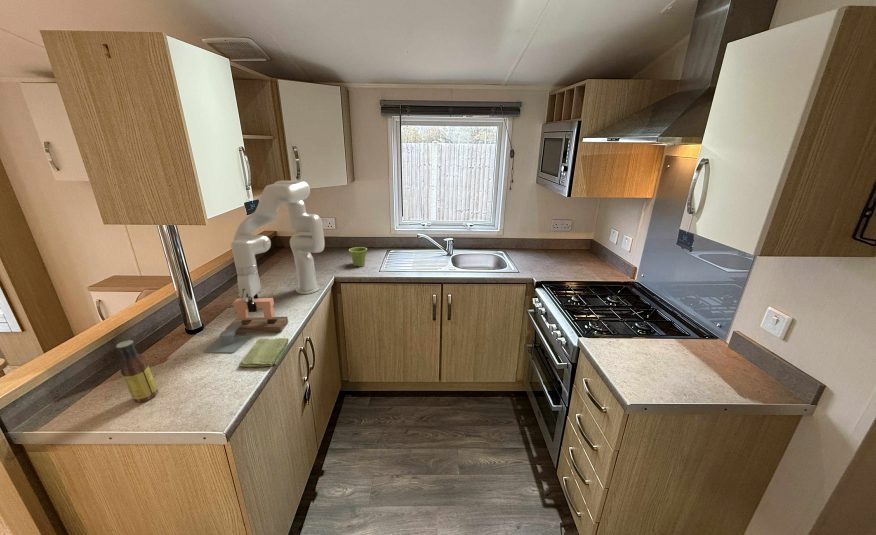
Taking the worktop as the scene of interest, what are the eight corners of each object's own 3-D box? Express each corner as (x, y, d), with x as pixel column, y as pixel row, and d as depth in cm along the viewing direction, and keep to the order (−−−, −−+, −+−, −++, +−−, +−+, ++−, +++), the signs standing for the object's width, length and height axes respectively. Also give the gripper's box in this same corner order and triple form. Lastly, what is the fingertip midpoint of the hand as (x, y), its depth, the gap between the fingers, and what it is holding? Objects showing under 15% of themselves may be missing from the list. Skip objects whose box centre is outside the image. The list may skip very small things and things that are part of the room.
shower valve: (253, 322, 141) (231, 342, 127) (255, 334, 143) (234, 354, 129) (224, 322, 142) (199, 341, 128) (227, 333, 144) (202, 353, 129)
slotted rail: (237, 324, 150) (236, 318, 149) (288, 322, 152) (287, 316, 151) (227, 334, 142) (225, 328, 141) (280, 332, 143) (279, 326, 142)
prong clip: (240, 315, 146) (236, 298, 143) (276, 314, 147) (273, 297, 144) (236, 319, 143) (232, 302, 140) (272, 318, 144) (269, 301, 141)
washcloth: (237, 370, 119) (235, 362, 118) (258, 343, 136) (257, 336, 135) (275, 368, 120) (273, 361, 119) (292, 342, 137) (290, 335, 136)
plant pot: (371, 265, 226) (370, 249, 222) (357, 269, 218) (355, 253, 214) (361, 261, 234) (360, 245, 230) (346, 265, 225) (345, 249, 221)
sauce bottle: (149, 388, 110) (131, 335, 103) (163, 392, 108) (145, 338, 102) (127, 402, 104) (105, 346, 97) (141, 406, 102) (120, 350, 96)
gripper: (246, 263, 145) (254, 301, 151) (226, 276, 129) (236, 319, 136) (264, 262, 146) (271, 301, 152) (246, 276, 130) (255, 318, 136)
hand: (255, 309), depth 144 cm, fingers closed on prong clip, 3 cm apart
